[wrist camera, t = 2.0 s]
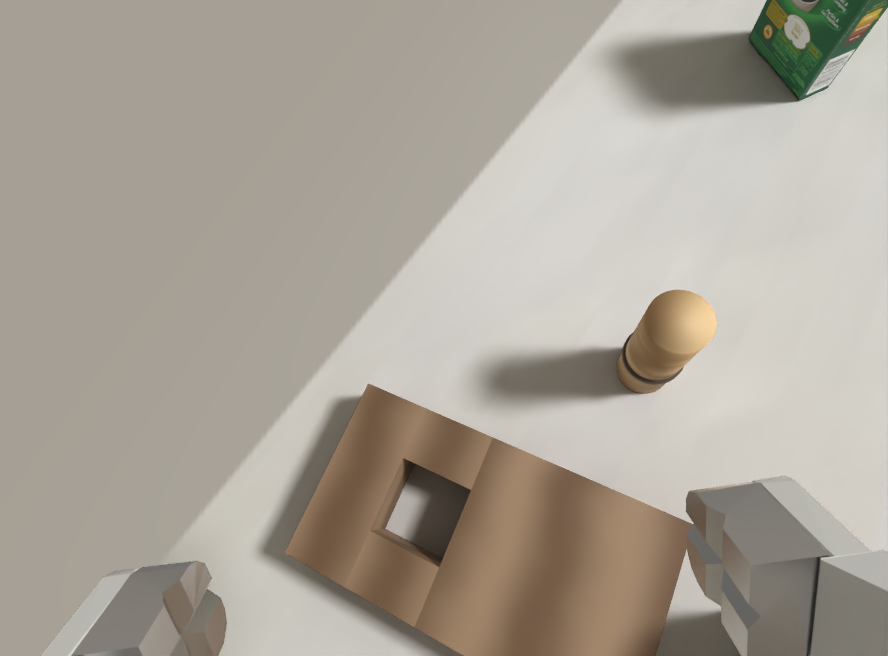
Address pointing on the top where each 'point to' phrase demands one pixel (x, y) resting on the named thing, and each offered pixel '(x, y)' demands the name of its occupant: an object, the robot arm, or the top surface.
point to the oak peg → (665, 340)
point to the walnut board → (491, 542)
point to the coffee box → (813, 38)
